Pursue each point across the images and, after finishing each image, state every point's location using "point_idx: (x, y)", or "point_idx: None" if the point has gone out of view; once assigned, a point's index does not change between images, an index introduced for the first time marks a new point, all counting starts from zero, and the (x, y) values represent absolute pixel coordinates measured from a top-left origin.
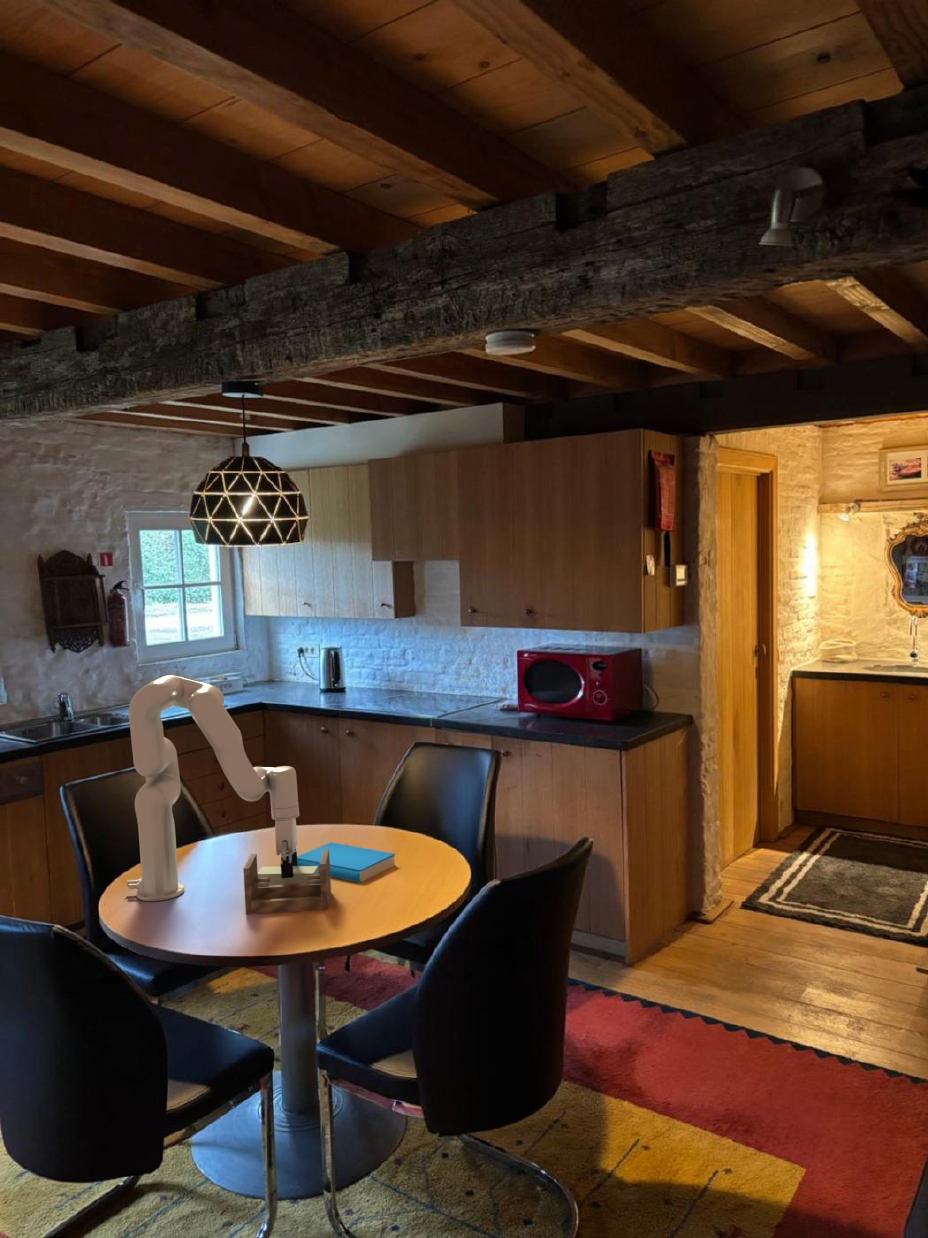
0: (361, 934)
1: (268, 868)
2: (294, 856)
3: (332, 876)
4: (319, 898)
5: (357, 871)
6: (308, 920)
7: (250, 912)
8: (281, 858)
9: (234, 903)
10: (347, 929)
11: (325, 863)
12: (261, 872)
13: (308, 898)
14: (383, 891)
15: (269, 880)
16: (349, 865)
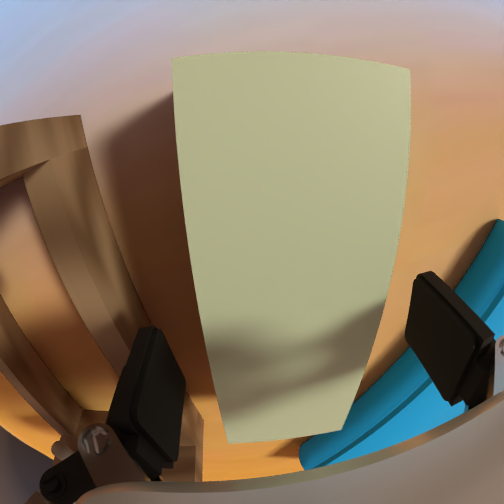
0: (29, 441)
1: (362, 143)
2: (438, 374)
3: (374, 384)
4: (58, 432)
5: (312, 468)
6: (10, 383)
7: None
8: (44, 486)
9: (12, 65)
10: (29, 431)
11: None
12: (226, 99)
13: (40, 413)
14: (231, 475)
15: None
16: (362, 451)
